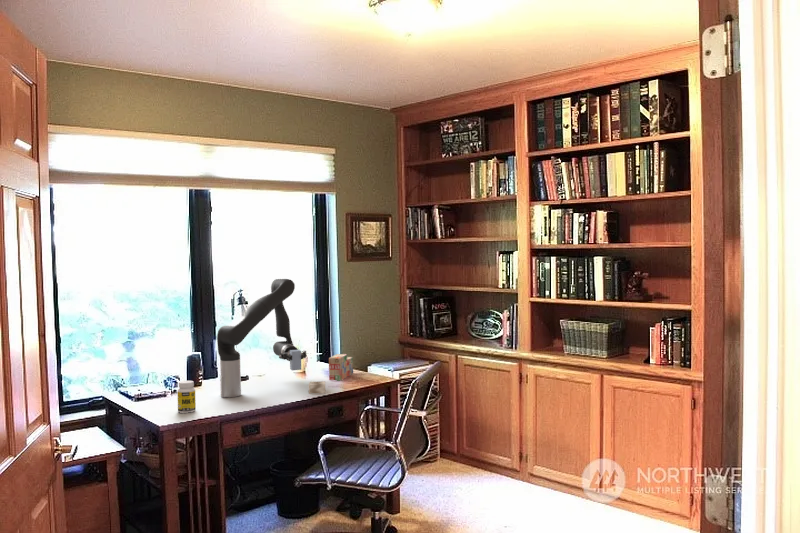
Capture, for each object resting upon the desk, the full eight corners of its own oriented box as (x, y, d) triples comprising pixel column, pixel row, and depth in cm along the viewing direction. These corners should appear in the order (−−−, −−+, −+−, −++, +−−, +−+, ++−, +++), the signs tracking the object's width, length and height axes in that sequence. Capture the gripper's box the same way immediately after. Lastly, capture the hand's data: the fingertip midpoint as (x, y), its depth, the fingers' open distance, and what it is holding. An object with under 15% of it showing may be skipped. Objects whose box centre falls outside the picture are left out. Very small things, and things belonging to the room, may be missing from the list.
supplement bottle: (181, 414, 276) (180, 384, 276) (175, 411, 282) (174, 381, 281) (198, 411, 280) (197, 381, 280) (192, 408, 286) (191, 379, 286)
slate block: (292, 370, 309) (291, 351, 308) (290, 368, 313) (289, 350, 313) (301, 369, 310) (301, 350, 310) (299, 368, 315) (299, 349, 314)
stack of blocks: (342, 373, 363) (342, 351, 362) (353, 373, 361) (352, 351, 361) (329, 380, 342) (328, 357, 342) (340, 381, 340) (339, 357, 340)
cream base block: (308, 394, 311) (308, 384, 311) (310, 390, 319) (309, 381, 318) (324, 393, 312) (324, 384, 311) (325, 390, 319) (325, 381, 319)
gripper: (275, 345, 322) (281, 350, 306) (303, 343, 327) (311, 348, 311) (275, 361, 322) (281, 366, 306) (304, 358, 327) (311, 364, 312)
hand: (296, 357), depth 309 cm, fingers closed on slate block, 4 cm apart
